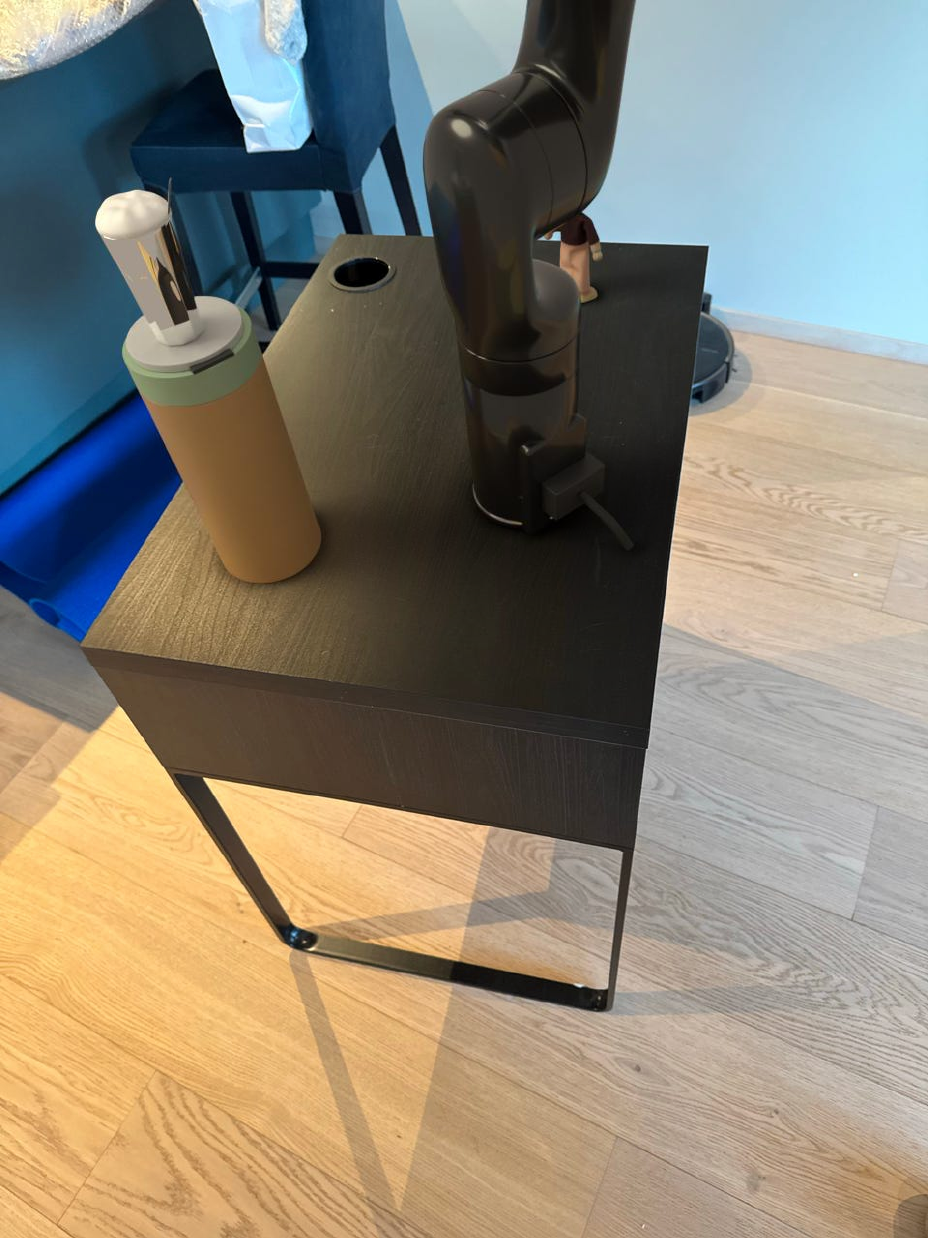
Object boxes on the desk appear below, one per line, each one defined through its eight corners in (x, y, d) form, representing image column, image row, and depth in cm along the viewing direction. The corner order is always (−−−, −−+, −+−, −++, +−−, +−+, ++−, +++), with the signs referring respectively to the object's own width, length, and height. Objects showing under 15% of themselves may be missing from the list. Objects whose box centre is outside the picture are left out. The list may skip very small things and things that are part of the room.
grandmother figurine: (611, 291, 94) (618, 174, 83) (596, 309, 92) (600, 192, 82) (551, 275, 96) (550, 161, 86) (534, 293, 95) (531, 178, 85)
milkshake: (218, 349, 55) (161, 198, 47) (140, 354, 56) (70, 206, 48) (231, 309, 58) (179, 160, 50) (156, 315, 59) (93, 168, 51)
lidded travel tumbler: (204, 541, 76) (98, 328, 58) (290, 494, 78) (213, 276, 61) (250, 600, 71) (149, 388, 54) (340, 548, 74) (272, 329, 56)
